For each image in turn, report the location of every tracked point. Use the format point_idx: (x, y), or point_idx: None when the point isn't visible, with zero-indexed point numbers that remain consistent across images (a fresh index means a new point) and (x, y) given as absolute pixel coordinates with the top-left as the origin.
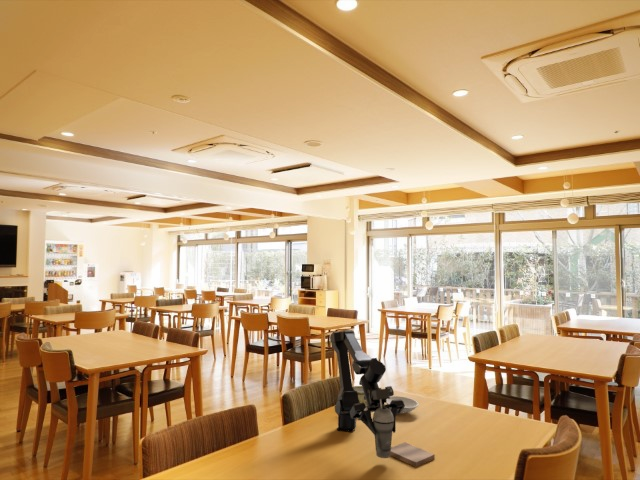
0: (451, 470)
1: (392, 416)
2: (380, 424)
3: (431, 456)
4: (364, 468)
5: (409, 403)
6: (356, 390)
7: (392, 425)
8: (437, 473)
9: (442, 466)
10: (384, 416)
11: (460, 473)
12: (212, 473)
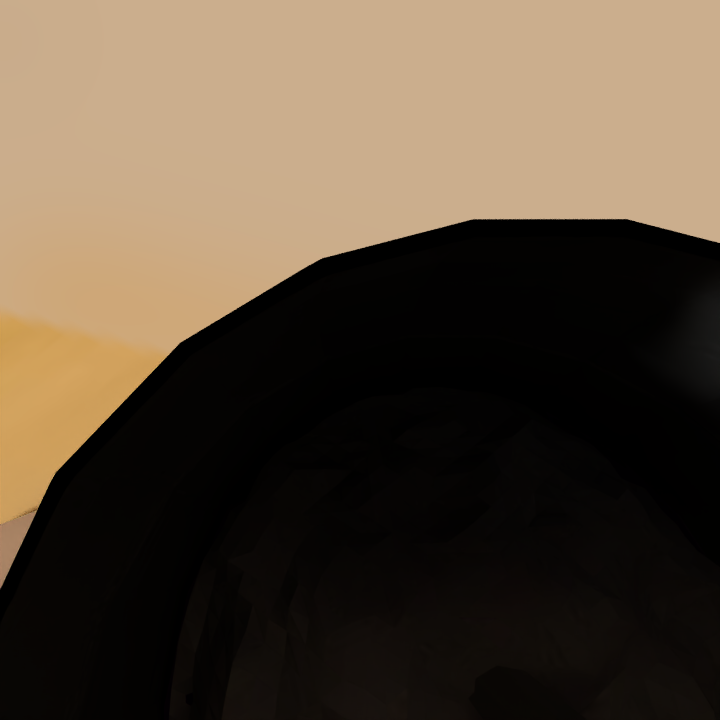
0: (48, 369)
1: (202, 363)
2: (615, 415)
3: (6, 524)
4: None
5: None
6: None
7: (293, 427)
8: (145, 359)
9: (48, 424)
10: (643, 256)
11: (38, 332)
12: None
